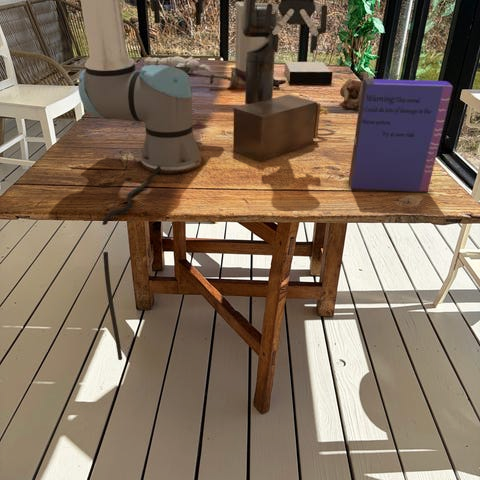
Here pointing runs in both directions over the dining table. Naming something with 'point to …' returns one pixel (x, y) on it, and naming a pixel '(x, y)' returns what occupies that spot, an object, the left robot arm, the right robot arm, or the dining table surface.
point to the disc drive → (308, 73)
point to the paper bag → (243, 39)
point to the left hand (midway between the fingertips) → (177, 24)
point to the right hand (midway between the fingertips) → (293, 51)
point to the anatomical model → (352, 91)
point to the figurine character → (183, 69)
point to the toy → (177, 63)
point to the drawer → (318, 112)
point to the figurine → (240, 79)
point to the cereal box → (398, 134)
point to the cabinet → (273, 126)
